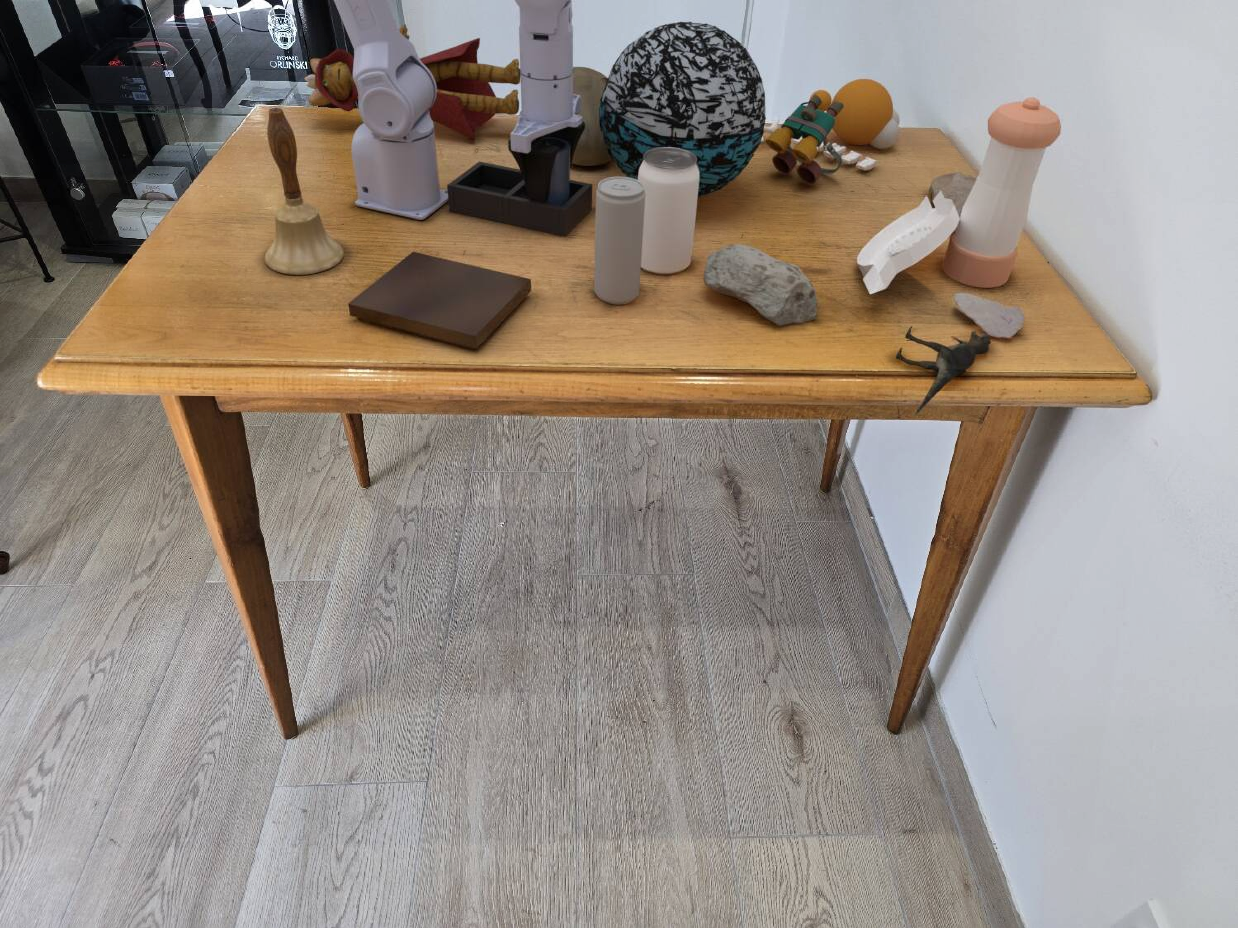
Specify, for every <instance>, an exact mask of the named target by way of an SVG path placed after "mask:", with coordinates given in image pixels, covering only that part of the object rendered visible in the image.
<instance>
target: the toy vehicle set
mask: <svg viewBox="0 0 1238 928" xmlns="http://www.w3.org/2000/svg"><path fill="white" fill-rule="evenodd" d="M801 139H802V136H801V138H800V139H798V140H797V139H793V138H792V143H793V144H794V145H797V143H798V142H799V141H800V140H801ZM829 144H831V143H830V142H829V141H828V143H827V145H826V146H825V149H826V148H827V146H828V145H829ZM832 146H833V148H834V149H835V151H836V152H837V153H838V154H839V155H840V156H841V158H842V164H846V165H853V164H855V163H856V164H855V167H856V169H859V170H862V171H867V172H868V171H870V170H872V169H873V168H874V167H876V165H877V164H878V160H876V159H873V158H871V157H869V156H866V157H865V159H862V160H861V161H859V160H860V159H861V158H862V156H863V154H861V153H858V152H857V151H854V150H850V152H849V153H847V154H845V155H843V154H844V153H845V152H846V150H847V146H844V145H842V146H841V145H840V144H837V142H832ZM816 148H817V153H822V152H823V155H824V156H825V157H827V158H829V159H831V161H833V160H836V158H835V157H834V156H833V155H832V154H831V153H829V152H828V151H825V150H824V148H823V142H822V144H821V145H820V147H816ZM826 150H827V149H826Z"/></svg>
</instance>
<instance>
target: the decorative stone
mask: <svg viewBox="0 0 1238 928" xmlns="http://www.w3.org/2000/svg"><path fill="white" fill-rule="evenodd" d="M703 270H704V271H703V283H704V285H705V287H707V288H709V289H711V290H714V291H716V292H718V293H721V294H724V295H726V296H730V297H733V298H736V299H738V300H740V301H741V302H745V303H747V304H748V305H750V306H751V307H753V309H755V310H756V311H757V312H758V313H759V314H760V315H761V316H762V317H764V319H766V320H768V321H770V322H771V323H773V324H774V325H777V326H778V327H784V326H790V325H797V324H803V323H805V322H810V321H814V320H815V319H816V318H817V316H818V298H817V293H816V292H817V291H816V288H815V286H814V284H813V282H812V281H811V280H810V278H809V277H807V276H806V275H805V274H804V273H803V271H802V269H801V268H800V267H799V266H798V265H796V264H793V263H789V262H785V261H784V260H783V261H782V260H780V259H778V258H774V257H772V256H770V255H769V254H767V253H766V252H763V251H761V250H760V249H758V248H756V247H753V246H749V245H746V244H742V243H741V244H740V243H737V244H736V243H731V244H728V245H726V246H723V247H721V248H720V249H717V250H715V251H714V250H713V251H712V252H710V253H709V254H708V256H707V258H706V261H705V264H704V269H703Z"/></svg>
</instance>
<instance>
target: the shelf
mask: <svg viewBox="0 0 1238 928" xmlns="http://www.w3.org/2000/svg"><path fill="white" fill-rule="evenodd" d="M531 292H532V279H531V278H528V277H523V276H520V275H514V274H511V273H507V272H503V271H498V270H494V269H490V268H486V267H481V266H476V265H473V264H468V263H463V262H459V261H456V260H451V259H447V258H444V257H438V256H434V255H430V254H426V253H421V252H417V251H411V252H410V253H409V254H408V255H407V256H405V257H404V258H403V259H402V260H400V261H399V262H398V263H397V264H395V265H394V266H393V267H391V268H390V269H389V270H388V271H386V273H384V274H383V275H382V276H380V277H379V278H378V279H377V280H375V281H374V282H373V283H372V284H370V285H369V286H368V287H367V288H365V289H364V290H363V291H362V292H361V293H359V294H358V295H357V296H356V297H354V298H353V299H352V300H350V302H348V303H347V305H348V310H349V316H350V317H354V318H357V319H358V320H359V321H362V322H367V323H370V324H374V325H378V326H382V327H386V328H389V329H393V330H397V331H401V332H404V333H408V334H411V335H416V336H420V337H424V338H428V339H431V340H436V341H439V342H442V343H446V344H451V345H455V346H458V347H461V348H465V349H469V350H473V351H475V350H477V349H478V347H480V345H481V344H483V342H484V341H486V339H487V338H488V337H489V336H490V335H491V334H492V333H493V332H494V331H495V330H496V329H497V328H498V326H499V325H500V324H501V323H502V322H503V321H504V320H505V319H506V318H507V317H508V316H509V315H510V314H511V313H512V312H513V311H514V310H515V309H516V308H517V307H518V306H519V304H521V302H523V300H524V299H525V298H526V297H527V296H528V295H529V294H530V293H531Z"/></svg>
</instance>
